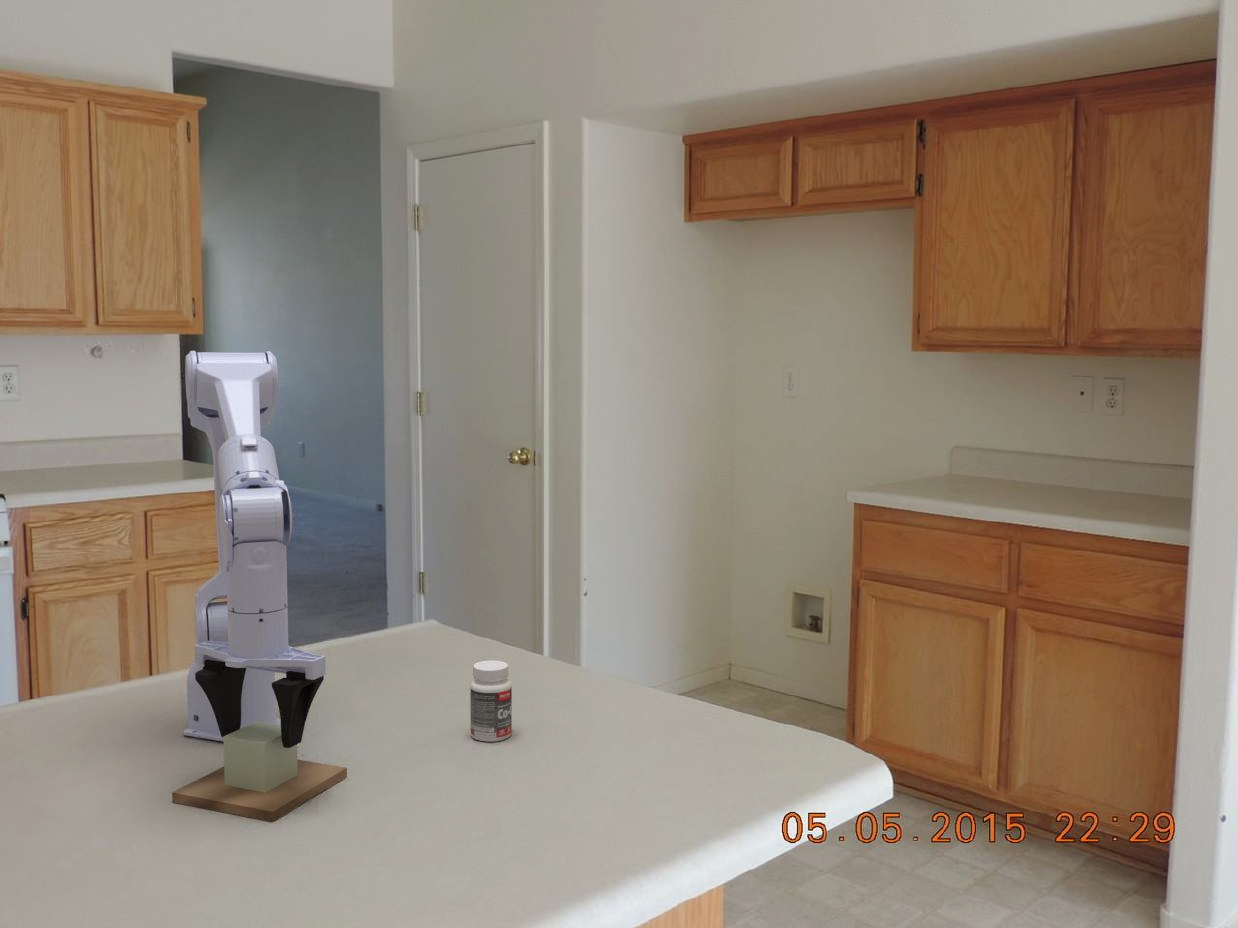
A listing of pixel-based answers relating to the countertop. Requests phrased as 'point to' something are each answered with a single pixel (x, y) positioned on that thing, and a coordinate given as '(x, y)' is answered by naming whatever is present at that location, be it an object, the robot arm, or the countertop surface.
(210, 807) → the walnut pad
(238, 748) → the sage cube
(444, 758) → the countertop surface
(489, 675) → the pill bottle
